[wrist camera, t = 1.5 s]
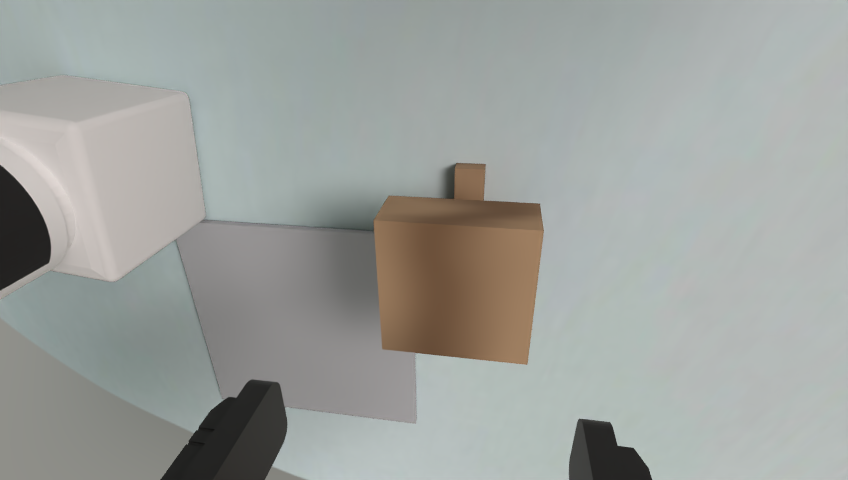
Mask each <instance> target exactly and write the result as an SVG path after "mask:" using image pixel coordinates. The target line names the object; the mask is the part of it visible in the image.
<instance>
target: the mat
mask: <svg viewBox="0 0 848 480" xmlns="http://www.w3.org/2000/svg"><path fill="white" fill-rule="evenodd" d="M176 241H177V244H178V248H179V251H180V255H181V258H182V262H183V265H184V268H185V272H186V275H187V279H188V282H189V286H190V289H191V292H192V296H193V299H194V303H195V306H196V310H197V313H198V316H199V320H200V323H201V327H202V330H203V334H204V337H205V340H206V344H207V347H208V351H209V354H210V358H211V361H212V364H213V368H214V371H215V375H216V378H217V381H218V385H219V388H220V392H221V395H222V399H226V398H227V397H236V398H237V396H238V395H239V393H240V392H241V390H242V389H243V387H244V386H245V384H246V383H247V382H248V381H249V380H251V379H255V380H263V381H272V382H278V383H279V384H280V387H281V391H282V397H283V402H284V407H290V408H298V409H305V410H313V411H321V412H329V413H336V414H344V415H352V416H360V417H367V418H375V419H383V420H391V421H398V422H406V423H414V424H416V419H417V415H416V375H415V353H412V352H403V351H393V350H384V349H382V339H381V325H380V310H379V295H378V280H377V265H376V250H375V235H374V231H365V230H350V229H334V228H319V227H304V226H289V225H273V224H258V223H243V222H228V221H213V220H202V221H201V222H199V223H198V224H197V225H195V226H194V227H192V228H191V229H190V230H188V231H187V232H185V233H184V234H183V235H181V236H180V237H178V238H177V239H176Z"/></svg>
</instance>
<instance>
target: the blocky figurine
mask: <svg viewBox="0 0 848 480" xmlns="http://www.w3.org/2000/svg"><path fill="white" fill-rule="evenodd" d="M205 217H206V212H205V205H204V198H203V191H202V184H201V177H200V170H199V163H198V156H197V149H196V142H195V136H194V129H193V122H192V115H191V108H190V101H189V97H188V95H187V94H186V93H185V92H182V91H175V90H168V89H161V88H154V87H147V86H140V85H132V84H125V83H118V82H111V81H104V80H96V79H89V78H82V77H75V76H68V75H59V76H53V77H47V78H40V79H34V80H28V81H22V82H16V83H10V84H4V85H0V299H2V298H4V297H5V296H7V295H9V294H11V293H12V292H14V291H16V290H17V289H19V288H21V287H23V286H24V285H26V284H28V283H29V282H31V281H33V280H35V279H36V278H38V277H40V276H41V275H43V274H45V273H46V272H48V271H55V272H60V273H65V274H71V275H76V276H81V277H87V278H92V279H97V280H103V281H108V282H115V281H118V280H119V279H121V278H122V277H124V276H125V275H126V274H128V273H129V272H131V271H132V270H133V269H135V268H136V267H138V266H139V265H140V264H142V263H143V262H145V261H146V260H147V259H149V258H150V257H152V256H153V255H154V254H156V253H157V252H159V251H160V250H161V249H163V248H164V247H166V246H167V245H168V244H170V243H171V242H173V241H174V240H175V239H177V238H178V237H180V236H181V235H183V234H184V233H185V232H187V231H188V230H190V229H191V228H192V227H194V226H195V225H197V224H198V223H199V222H201V221H202V220H203V219H204V218H205Z"/></svg>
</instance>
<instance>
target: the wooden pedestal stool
mask: <svg viewBox="0 0 848 480" xmlns="http://www.w3.org/2000/svg"><path fill="white" fill-rule="evenodd" d="M485 165H486V164H468V163H456V166H455V187H454V199H442V198H424V197H405V196H388V198H387V199H386V201H385V203H384V204H383V206H382V207H381V209H380V211H379V212H378V214H377V215H376V217H375V219H374V235H375V250H376V265H377V280H378V295H379V310H380V325H381V339H382V349H384V350H393V351H403V352H412V353H422V354H431V355H441V356H450V357H460V358H469V359H479V360H488V361H498V362H507V363H517V364H526V365H527V363H528V355H529V347H530V339H531V330H532V322H533V314H534V306H535V298H536V290H537V282H538V273H539V265H540V257H541V249H542V241H543V233H544V229H543V222H542V216H541V209H540V204H536V203H517V202H499V201H484V183H485Z"/></svg>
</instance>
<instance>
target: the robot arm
mask: <svg viewBox="0 0 848 480" xmlns="http://www.w3.org/2000/svg"><path fill="white" fill-rule="evenodd" d="M286 432H287V417H286V412H285V407H284V402H283V397H282V391H281V387H280V384H279V383H278V382H272V381H263V380H255V379H251V380H249V381H248V382H247V383H246V384H245V386H244V387H243V389H242V390H241V392H240V393H239V395H238V396H237V398H236V397H227V398H226V399H225V400H224V401H222V402H221V403H220V404H218V405H217V406H216V407H215V408H213V409H212V410H211V411H210V412H209V414H208V415H207V416H206V418H205V419H204V421H203V422H202V423H201V425H200V426H199V429H198V431H197V430H196V432H195V433H194V434H193V436H192V437H191V439H190V440H189V443H188V445H185V447H184V448H183V450H182V451H181V452H180V454H179V455H178V456H177V458H176V459H175V461H174V462H173V463H172V465H171V466H170V467H169V469H168V470H167V472H166V473H165V474H164V476H163V477H162V479H161V480H265V478H266V476H267V474H268V472H269V470H270V468H271V466H272V464H273V462H274V461H275V459H276V457H277V455H278V453H279V451H280V449H281V447H282V445H283V442H284V440H285V436H286ZM569 480H652V478H651V475H650V471H649V468H648V467H647V465H646V464H645V463H644V461H643V460H642V459H641V457H640V456H639V455H638V453H637V452H636V451H635V449H634V448H630V447H622V446H617V442H616V438H615V434H614V430H613V427H612V425H611V423H610V422H604V421H595V420H587V419H579V420H578V422H577V427H576V431H575V436H574V441H573V446H572V451H571V455H570V462H569Z"/></svg>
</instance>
